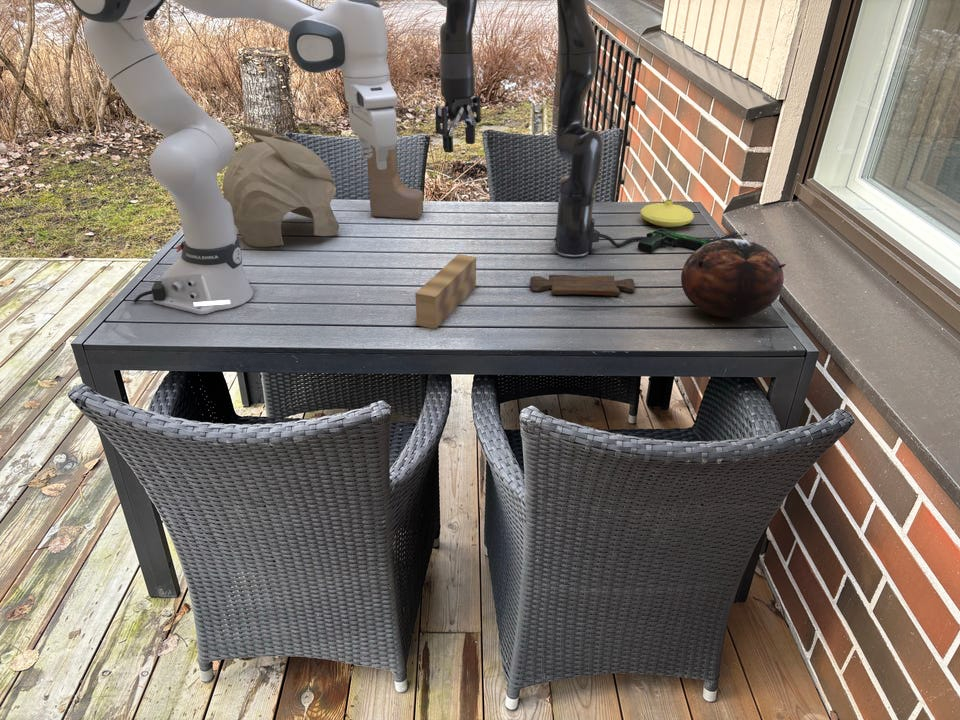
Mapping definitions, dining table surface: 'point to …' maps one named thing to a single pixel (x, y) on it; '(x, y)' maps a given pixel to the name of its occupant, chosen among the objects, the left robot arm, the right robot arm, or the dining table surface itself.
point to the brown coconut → (732, 278)
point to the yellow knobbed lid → (667, 214)
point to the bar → (445, 291)
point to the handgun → (669, 240)
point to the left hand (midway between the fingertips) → (374, 162)
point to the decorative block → (391, 190)
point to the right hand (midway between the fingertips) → (459, 147)
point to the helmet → (277, 188)
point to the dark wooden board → (581, 285)
